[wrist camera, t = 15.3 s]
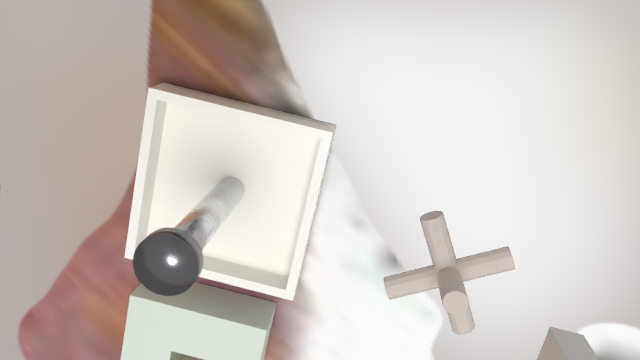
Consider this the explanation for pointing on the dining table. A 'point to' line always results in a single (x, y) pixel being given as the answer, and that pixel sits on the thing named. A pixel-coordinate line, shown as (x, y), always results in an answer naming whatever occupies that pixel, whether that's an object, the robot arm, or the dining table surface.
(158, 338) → the block
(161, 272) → the steel pin
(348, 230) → the dining table surface
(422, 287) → the pipe connector
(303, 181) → the tray
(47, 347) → the dining table surface
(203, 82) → the dining table surface
